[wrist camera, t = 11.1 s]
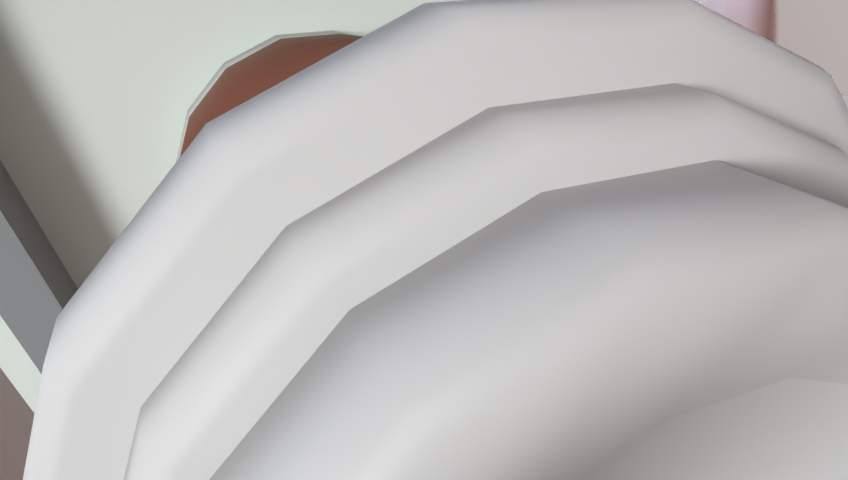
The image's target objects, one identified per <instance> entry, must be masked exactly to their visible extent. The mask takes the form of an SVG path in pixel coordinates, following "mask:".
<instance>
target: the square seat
mask: <svg viewBox="0 0 848 480" xmlns="http://www.w3.org/2000/svg"><path fill="white" fill-rule="evenodd" d="M447 1H462V0H0V368H1V369H2V370H3V372H4V373H5V374H6V376H7V377H8V379H9V380H10V381H11V383H12V384H13V385H14V387H15V388H16V389H17V391H18V392H19V393H20V395H21V396H22V397H23V399H24V400H25V401H26V403H27V404H28V406H29V407H30V408H31V410H32V411H33V412H34V414H35V408H36V403H37V397H38V391H39V386H40V380H41V375H42V369H43V364H44V361H45V357H46V354H47V350H48V346H49V343H50V339H51V336H52V332H53V328H54V325H55V321H56V318H57V316H58V315H59V314H60V312H61V311H62V310H63V308H64V307H65V306H66V304H67V303H68V302H69V301H70V299H71V298H72V297H73V295H74V294H75V293H76V291H77V290H78V289H79V288H80V286H81V285H82V284H83V282H84V281H85V280H86V279H87V277H88V276H89V275H90V273H91V272H92V271H93V269H94V268H95V267H96V266H97V264H98V263H99V262H100V260H101V259H102V258H103V257H104V255H105V254H106V253H107V251H108V250H109V249H110V247H111V246H112V245H113V244H114V242H115V241H116V240H117V238H118V237H119V236H120V235H121V233H122V232H123V231H124V229H125V228H126V227H127V225H128V224H129V223H130V222H131V220H132V219H133V218H134V216H135V215H136V214H137V212H138V211H139V210H140V209H141V207H142V206H143V205H144V203H145V202H146V201H147V200H148V198H149V197H150V196H151V194H152V193H153V192H154V190H155V189H156V188H157V187H158V185H159V184H160V183H161V181H162V180H163V179H164V178H165V176H166V175H167V174H168V172H169V171H170V170H171V168H172V167H173V166H174V165H175V163H176V160H177V155H178V151H179V147H180V142H181V138H182V133H183V129H184V125H185V120H186V116H187V111H188V109H189V108H190V106H191V105H192V104H193V102H194V101H195V100H196V99H197V97H198V96H199V95H200V93H201V92H202V91H203V89H204V88H205V87H206V86H207V84H208V83H209V82H210V80H211V79H212V78H213V76H214V75H215V74H216V72H217V71H218V70H219V69H220V67H221V66H222V65H223V63H225V62H227V61H229V60H230V59H232V58H234V57H236V56H238V55H240V54H242V53H243V52H245V51H247V50H249V49H251V48H253V47H254V46H256V45H258V44H260V43H262V42H264V41H266V40H267V39H269V38H271V37H273V36H275V35H282V34H294V33H307V32H319V31H331V30H334V31H336V32H339V33H342V34H347V35H355V36H363V37H364V36H365V35H367V34H369V33H371V32H373V31H374V30H376V29H378V28H380V27H382V26H383V25H385V24H387V23H389V22H391V21H393V20H394V19H396V18H398V17H400V16H402V15H403V14H405V13H407V12H409V11H411V10H412V9H414V8H416V7H418V6H420V5H421V4H423V3H433V2H447Z"/></svg>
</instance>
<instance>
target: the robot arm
mask: <svg viewBox="0 0 848 480" xmlns="http://www.w3.org/2000/svg"><path fill="white" fill-rule="evenodd" d="M841 96H842V98H843V100H844V102H845V104H846V106H847V108H848V96H847V95H843V94H841ZM33 419H34V412H33V411H32V410H31V408H30V407H29V406H28V404H27V403H26V401H25V400H24V399H23V397H22V396H21V395H20V393H19V392H18V391H17V389H16V388H15V387H14V385H13V384H12V383H11V381H10V380H9V379H8V377H7V376H6V374H5V373H4V372H3V370H2V369H1V368H0V480H23V475H24V470H25V464H26V459H27V453H28V447H29V442H30V436H31V431H32V425H33Z"/></svg>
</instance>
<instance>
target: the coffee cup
mask: <svg viewBox="0 0 848 480" xmlns="http://www.w3.org/2000/svg"><path fill="white" fill-rule="evenodd" d="M23 480H848V108H847V106H846V104H845V102H844V100H843V98H842V96H841V94H840V92H839V90H838V88H837V87H836V85H835V83H834V81H833V79H832V77H831V75H829V74H828V73H827V72H826V71H825V70H823V69H822V68H821V67H820V66H818V65H816V64H814V63H812V62H810V61H808V60H806V59H805V58H802V57H801V56H798V55H797V54H795V53H793V52H791V51H789V50H787V49H785V48H783V47H782V46H780V45H778V44H776V43H774V42H772V41H770V40H768V39H766V38H764V37H762V36H760V35H758V34H756V33H755V32H753V31H751V30H749V29H747V28H745V27H743V26H741V25H739V24H737V23H735V22H733V21H731V20H730V19H728V18H726V17H724V16H722V15H720V14H718V13H716V12H714V11H712V10H710V9H708V8H706V7H705V6H703V5H701V4H699V3H697V2H695V1H693V0H462V1H447V2H433V3H423V4H421V5H420V6H418V7H416V8H414V9H412V10H411V11H409V12H407V13H405V14H403V15H402V16H400V17H398V18H396V19H394V20H393V21H391V22H389V23H387V24H385V25H383V26H382V27H380V28H378V29H376V30H374V31H373V32H371V33H369V34H367V35H365V36H364V37H363V36H355V35H347V34H342V33H339V32H336V31H334V30H331V31H319V32H307V33H294V34H282V35H275V36H273V37H271V38H269V39H267V40H266V41H264V42H262V43H260V44H258V45H256V46H254V47H253V48H251V49H249V50H247V51H245V52H243V53H242V54H240V55H238V56H236V57H234V58H232V59H230V60H229V61H227V62H225V63H223V65H222V66H221V67H220V69H219V70H218V71H217V72H216V74H215V75H214V76H213V78H212V79H211V80H210V82H209V83H208V84H207V86H206V87H205V88H204V89H203V91H202V92H201V93H200V95H199V96H198V97H197V99H196V100H195V101H194V102H193V104H192V105H191V106H190V108H189V109H188V111H187V116H186V120H185V125H184V129H183V133H182V138H181V142H180V147H179V151H178V155H177V160H176V163H175V165H174V166H173V167H172V168H171V170H170V171H169V172H168V174H167V175H166V176H165V178H164V179H163V180H162V181H161V183H160V184H159V185H158V187H157V188H156V189H155V190H154V192H153V193H152V194H151V196H150V197H149V198H148V200H147V201H146V202H145V203H144V205H143V206H142V207H141V209H140V210H139V211H138V212H137V214H136V215H135V216H134V218H133V219H132V220H131V222H130V223H129V224H128V225H127V227H126V228H125V229H124V231H123V232H122V233H121V235H120V236H119V237H118V238H117V240H116V241H115V242H114V244H113V245H112V246H111V247H110V249H109V250H108V251H107V253H106V254H105V255H104V257H103V258H102V259H101V260H100V262H99V263H98V264H97V266H96V267H95V268H94V269H93V271H92V272H91V273H90V275H89V276H88V277H87V279H86V280H85V281H84V282H83V284H82V285H81V286H80V288H79V289H78V290H77V291H76V293H75V294H74V295H73V297H72V298H71V299H70V301H69V302H68V303H67V304H66V306H65V307H64V308H63V310H62V311H61V312H60V314H59V315H58V316H57V318H56V321H55V325H54V328H53V332H52V336H51V339H50V343H49V346H48V350H47V354H46V357H45V361H44V364H43V369H42V375H41V380H40V386H39V391H38V397H37V403H36V408H35V414H34V419H33V425H32V431H31V436H30V442H29V447H28V453H27V459H26V464H25V470H24V475H23Z"/></svg>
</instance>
